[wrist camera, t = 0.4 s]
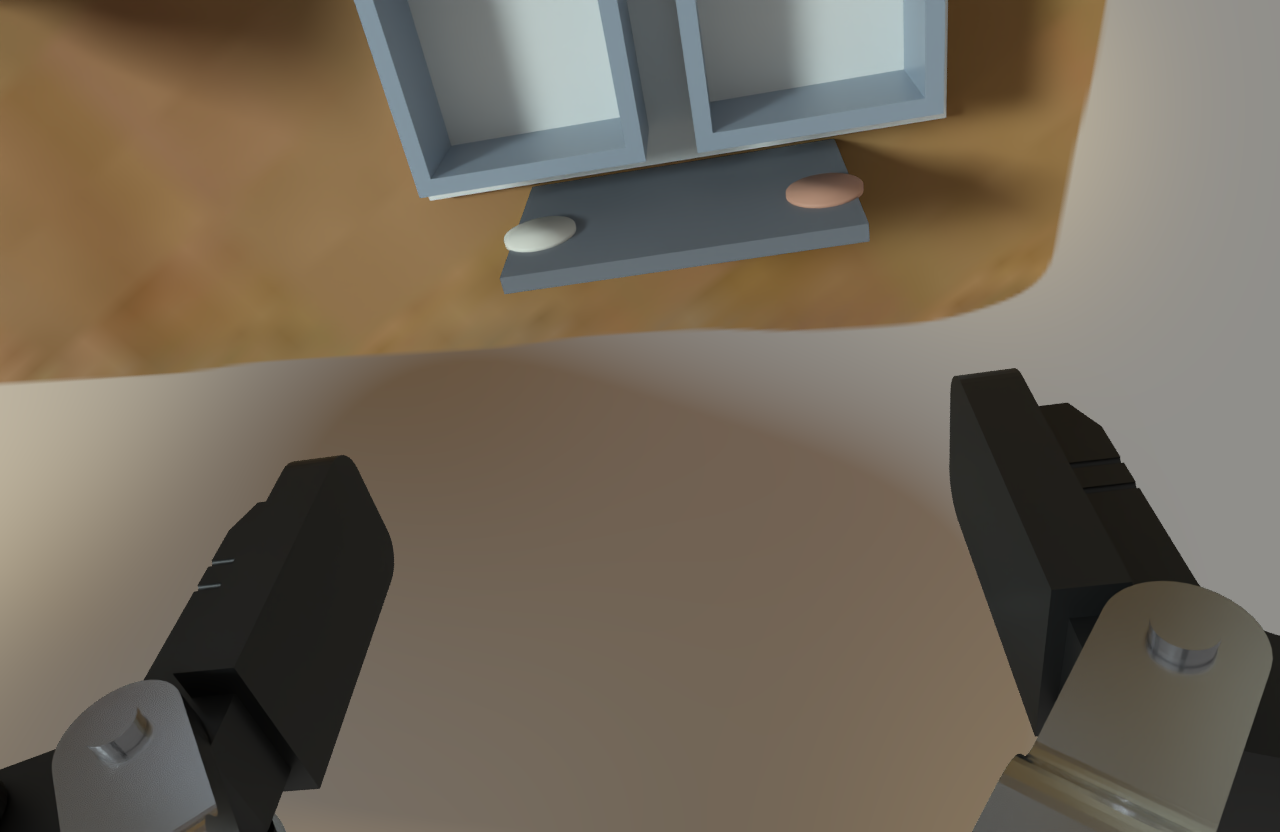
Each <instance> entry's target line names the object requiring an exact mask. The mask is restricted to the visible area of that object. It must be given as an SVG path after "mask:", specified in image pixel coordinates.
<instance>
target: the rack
mask: <svg viewBox="0 0 1280 832" xmlns="http://www.w3.org/2000/svg"><path fill="white" fill-rule="evenodd" d="M354 2H355V5H356V8H357V11H358V14H359V17H360V20H361V23H362V26H363V29H364V32H365V35H366V38H367V41H368V44H369V47H370V50H371V53H372V56H373V59H374V62H375V65H376V68H377V71H378V74H379V77H380V80H381V83H382V86H383V89H384V92H385V95H386V98H387V101H388V104H389V107H390V110H391V113H392V116H393V119H394V122H395V125H396V128H397V131H398V134H399V137H400V140H401V143H402V146H403V149H404V152H405V155H406V158H407V161H408V164H409V167H410V170H411V173H412V176H413V179H414V182H415V185H416V188H417V191H418V194H419V197H420V198H424V197H429V199H430V201H431V200H437V199H443V198H450V197H456V196H462V195H468V194H474V193H481V192H487V191H493V190H499V189H506V188H512V187H518V186H524V185H530V184H537V183H543V182H549V181H555V180H562V179H568V178H574V177H580V176H586V175H593V174H599V173H605V172H611V171H617V170H624V169H630V168H636V167H642V166H649V165H655V164H661V163H667V162H673V161H680V160H686V159H692V158H698V157H705V156H711V155H717V154H723V153H729V152H736V151H742V150H748V149H754V148H760V147H767V146H773V145H779V144H785V143H792V142H798V141H804V140H810V139H816V138H823V137H829V136H835V135H841V134H848V133H854V132H860V131H866V130H872V129H879V128H885V127H891V126H897V125H903V124H910V123H916V122H922V121H928V120H935V119H941V118H946V95H947V29H948V0H354Z"/></svg>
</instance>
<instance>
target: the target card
mask: <svg viewBox="0 0 1280 832" xmlns="http://www.w3.org/2000/svg"><path fill="white" fill-rule="evenodd" d="M863 191H864V186H863V181H862V180H861V179H860V178H858V177H856V176H854V175H850V174H848V171H847V169H846V166H845V164H844V161H843V159H842V157H841V154H840V152H839V149H838V147H837V144H836V142H835V139H829V140H822V141H816V142H810V143H804V144H797V145H791V146H785V147H779V148H772V149H766V150H760V151H754V152H747V153H741V154H735V155H729V156H723V157H716V158H710V159H704V160H698V161H691V162H685V163H679V164H673V165H666V166H660V167H654V168H648V169H641V170H635V171H629V172H623V173H617V174H610V175H604V176H598V177H592V178H585V179H579V180H573V181H567V182H560V183H554V184H548V185H542V186H535V187H532V189H531V192H530V195H529V198H528V201H527V203H526V206H525V209H524V212H523V215H522V217H521V220H520V223H519V225H517V226H516V227H514V228H512V229H511V230H510V231H509V232H508V233H507V234H506V235H505V237H504V242H505V246H506V248H507V249H508V250H509V254H508V257H507V260H506V262H505V265H504V268H503V271H502V274H501V276H500V280H501V284H502V287H503V290H504V294H509V293H516V292H522V291H529V290H536V289H543V288H550V287H557V286H564V285H571V284H578V283H585V282H592V281H598V280H605V279H612V278H619V277H626V276H633V275H640V274H647V273H654V272H661V271H668V270H674V269H681V268H688V267H695V266H702V265H709V264H716V263H723V262H730V261H737V260H743V259H750V258H757V257H764V256H771V255H778V254H785V253H792V252H799V251H806V250H813V249H819V248H826V247H833V246H840V245H847V244H854V243H861V242H868V241H869V223H868V220H867V218H866V216H865V213H864V211H863V208H862V206H861V203H860V201H859V197H860V196H861V195H862V194H863Z"/></svg>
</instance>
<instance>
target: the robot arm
mask: <svg viewBox="0 0 1280 832" xmlns="http://www.w3.org/2000/svg"><path fill="white" fill-rule="evenodd" d="M950 397H951V398H950V465H949V468H950V469H949V470H950V484H951V492H952V498H953V503H954V507H955V511H956V515H957V518H958V521H959V524H960V527H961V530H962V533H963V535H964V538H965V541H966V544H967V547H968V550H969V552H970V555H971V558H972V561H973V563H974V566H975V569H976V572H977V575H978V578H979V580H980V583H981V586H982V589H983V592H984V594H985V597H986V600H987V603H988V606H989V608H990V611H991V614H992V617H993V620H994V623H995V625H996V628H997V631H998V634H999V637H1000V639H1001V642H1002V645H1003V648H1004V651H1005V654H1006V656H1007V659H1008V662H1009V665H1010V668H1011V670H1012V673H1013V676H1014V679H1015V682H1016V684H1017V687H1018V690H1019V693H1020V696H1021V698H1022V701H1023V704H1024V707H1025V710H1026V713H1027V715H1028V718H1029V721H1030V724H1031V727H1032V729H1033V732H1034V735H1035V736H1038V738H1037V740H1036V742H1035V744H1034V745H1033V747H1032V749H1031V750H1030V752H1029V753H1028V754H1027V755H1026V756H1024V755H1022V754H1017V755H1016V756H1015V757H1014V758H1013V759H1012V760H1011V762H1010V763H1009V764H1008V766H1007V767H1006V769H1005V770H1004V772H1003V774H1002V776H1001V777H1000V779H999V782H998V783H997V785H996V787H995V789H994V791H993V792H992V794H991V796H990V798H989V801H988V802H987V804H986V806H985V808H984V810H983V812H982V814H981V816H980V818H979V819H978V821H977V823H976V825H975V827H974V829H973V831H972V832H1280V636H1278V635H1275V634H1272V633H1269V632H1266V631H1264V630H1263V628H1262V627H1261V626H1260V624H1259V623H1258V622H1257V621H1256V620H1255V619H1254V617H1253V616H1251V615H1250V614H1249V613H1248V612H1247V611H1246V610H1244V609H1243V608H1242V607H1241V606H1239V605H1238V604H1236V603H1234V602H1233V601H1232V600H1230V599H1228V598H1226V597H1224V596H1222V595H1220V594H1218V593H1216V592H1213V591H1211V590H1208V589H1205V588H1203V587H1200V585H1199V584H1198V583H1197V581H1196V580H1195V578H1194V576H1193V575H1192V573H1191V571H1190V570H1189V568H1188V566H1187V565H1186V563H1185V562H1184V560H1183V558H1182V557H1181V555H1180V553H1179V552H1178V550H1177V549H1176V547H1175V545H1174V544H1173V542H1172V541H1171V539H1170V537H1169V536H1168V534H1167V532H1166V531H1165V529H1164V528H1163V526H1162V524H1161V522H1160V521H1159V519H1158V518H1157V516H1156V514H1155V513H1154V511H1153V510H1152V508H1151V506H1150V505H1149V503H1148V501H1147V500H1146V498H1145V496H1144V495H1143V493H1142V492H1141V490H1140V489H1139V488H1136V484H1135V480H1134V478H1133V477H1132V475H1131V474H1130V472H1129V470H1128V469H1127V467H1126V466H1125V464H1124V463H1121V461H1120V456H1119V454H1118V452H1117V451H1116V449H1115V448H1114V446H1113V444H1112V443H1111V441H1110V439H1109V438H1108V436H1107V435H1106V433H1105V431H1104V430H1103V428H1102V427H1101V426H1100V425H1099V424H1097V423H1096V422H1094V421H1093V420H1092V419H1090V418H1089V417H1087V416H1086V415H1084V414H1083V413H1081V412H1080V411H1079V410H1077V409H1076V408H1074V407H1073V406H1072V405H1070V404H1069V403H1061V404H1053V405H1045V406H1038V404H1037V402H1036V401H1035V399H1034V397H1033V395H1032V393H1031V391H1030V389H1029V388H1028V386H1027V384H1026V382H1025V380H1024V378H1023V376H1022V375H1021V373H1020V372H1019V371H1018V370H1017V369H1016V368H1012V369H1005V370H998V371H990V372H982V373H975V374H967V375H959V376H954V377H953V379H952V382H951V393H950ZM212 563H213V564H212V566H211V567H208V568H207V570H206V572H205V573H204V575H203V577H202V579H201V581H200V582H199V584H198V588H199V589H198V591H196V592H194V593H193V594H192V596H191V598H190V600H189V602H188V603H187V605H186V607H185V609H184V610H183V612H182V614H181V616H180V617H179V619H178V621H177V623H176V625H175V626H174V628H173V630H172V631H171V633H170V635H169V637H168V638H167V640H166V642H165V644H164V645H163V647H162V649H161V651H160V652H159V654H158V656H157V658H156V659H155V661H154V663H153V665H152V666H151V668H150V670H149V672H148V674H147V675H146V677H145V679H144V680H143V681H139V682H135V683H131V684H129V685H126V686H123V687H121V688H119V689H117V690H115V691H113V692H111V693H109V694H107V695H106V696H104V697H102V698H101V699H99V700H98V701H96V702H95V703H94V704H93V705H91V706H90V707H89V708H87V709H86V710H85V711H84V712H83V713H82V714H81V715H80V716H79V717H78V718H77V719H76V720H75V721H74V722H73V723H72V724H71V725H70V727H69V728H68V729H67V731H66V732H65V733H64V735H63V736H62V738H61V740H60V741H59V743H58V745H57V747H56V749H55V750H52V751H49V752H47V753H44V754H42V755H39V756H36V757H33V758H31V759H28V760H25V761H22V762H20V763H17V764H15V765H12V766H9V767H6V768H4V769H1V770H0V832H286V831H285V828H284V826H283V824H282V822H281V821H280V819H279V818H278V817H277V815H276V814H275V811H276V808H277V806H278V803H279V800H280V798H281V795H282V792H283V791H295V790H308V789H319V788H320V787H321V784H322V781H323V778H324V775H325V772H326V769H327V766H328V763H329V760H330V758H331V755H332V752H333V749H334V746H335V743H336V740H337V737H338V734H339V731H340V728H341V725H342V722H343V719H344V717H345V714H346V711H347V708H348V705H349V702H350V699H351V696H352V693H353V690H354V687H355V685H356V682H357V679H358V676H359V673H360V670H361V667H362V664H363V661H364V659H365V656H366V653H367V650H368V647H369V644H370V641H371V638H372V635H373V632H374V629H375V626H376V624H377V621H378V618H379V614H380V612H381V609H382V606H383V603H384V600H385V597H386V595H387V592H388V589H389V585H390V583H391V580H392V576H393V570H394V553H393V546H392V541H391V538H390V535H389V533H388V531H387V529H386V526H385V524H384V523H383V520H382V519H381V516H380V514H379V512H378V510H377V508H376V506H375V504H374V502H373V500H372V498H371V496H370V494H369V492H368V489H367V487H366V485H365V483H364V481H363V479H362V477H361V475H360V473H359V471H358V469H357V467H356V465H355V464H354V463H353V461H352V460H351V459H350V458H349V457H347V456H344V455H340V456H332V457H325V458H317V459H309V460H302V461H294V462H291V463H289V464H288V465H287V466H285V468H284V469H283V471H282V473H281V475H280V477H279V478H278V480H277V482H276V484H275V486H274V488H273V489H272V492H271V493H270V495H269V497H268V499H267V501H266V502H259V503H257V504H256V505H255V506H254V507H253V508H252V509H251V510H250V511H249V512H248V513H247V514H246V515H245V516H244V517H243V518H242V519H241V520H239V521H238V522H237V523H236V524H235V525H234V526H233V527H232V528H231V529H230V530H229V531H228V533H227V535H226V537H225V538H224V540H223V542H222V544H221V545H220V547H219V549H218V551H217V553H216V554H215V556H214V558H213V559H212Z"/></svg>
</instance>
